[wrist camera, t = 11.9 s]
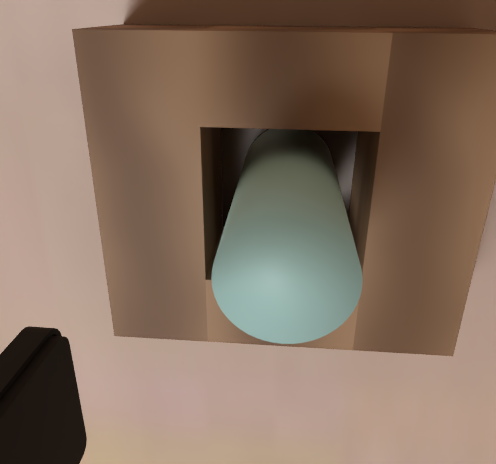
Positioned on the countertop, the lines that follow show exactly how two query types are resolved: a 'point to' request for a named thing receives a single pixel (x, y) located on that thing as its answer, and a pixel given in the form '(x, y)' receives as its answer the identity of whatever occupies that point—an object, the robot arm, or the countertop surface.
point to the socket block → (300, 118)
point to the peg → (287, 243)
